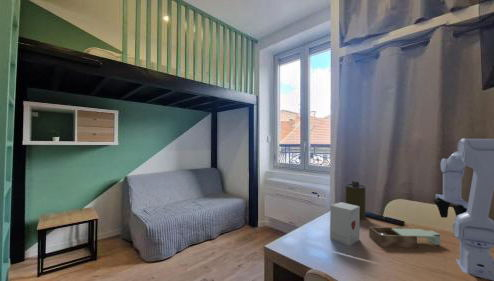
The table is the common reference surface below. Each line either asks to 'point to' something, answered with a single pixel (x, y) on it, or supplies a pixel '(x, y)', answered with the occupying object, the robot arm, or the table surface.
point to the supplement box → (344, 223)
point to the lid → (420, 234)
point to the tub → (391, 238)
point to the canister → (356, 196)
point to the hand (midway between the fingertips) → (451, 220)
